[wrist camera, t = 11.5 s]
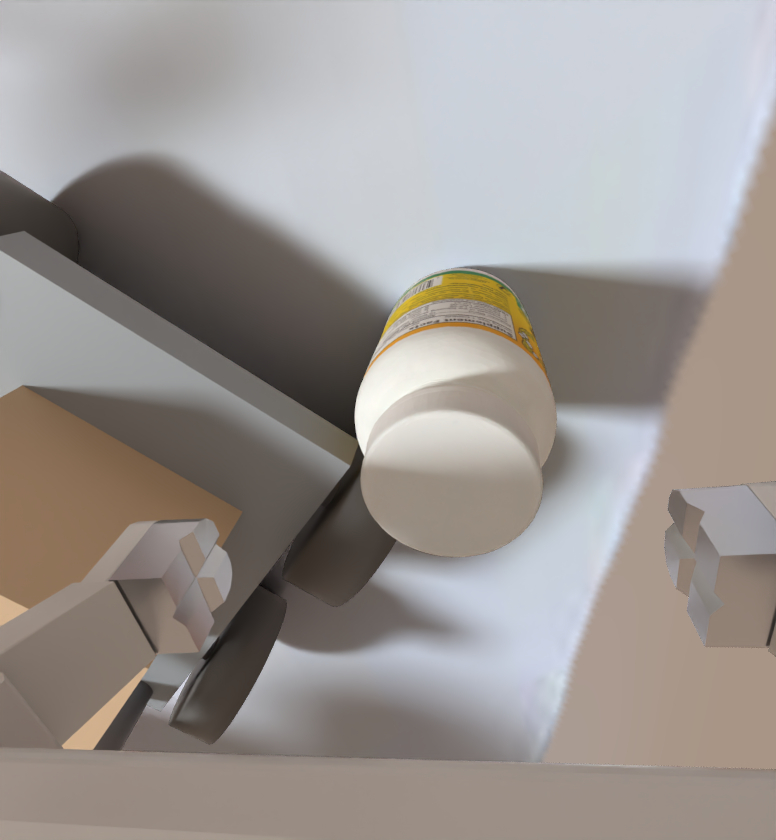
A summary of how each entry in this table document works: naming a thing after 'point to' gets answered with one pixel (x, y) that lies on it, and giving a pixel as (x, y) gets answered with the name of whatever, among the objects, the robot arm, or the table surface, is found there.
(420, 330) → the supplement bottle
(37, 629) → the robot arm
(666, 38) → the table surface
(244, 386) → the trolley
